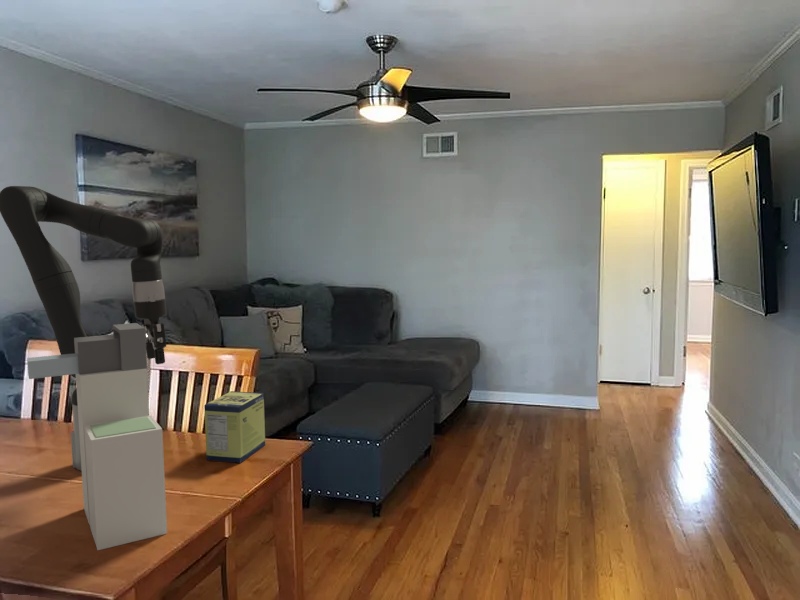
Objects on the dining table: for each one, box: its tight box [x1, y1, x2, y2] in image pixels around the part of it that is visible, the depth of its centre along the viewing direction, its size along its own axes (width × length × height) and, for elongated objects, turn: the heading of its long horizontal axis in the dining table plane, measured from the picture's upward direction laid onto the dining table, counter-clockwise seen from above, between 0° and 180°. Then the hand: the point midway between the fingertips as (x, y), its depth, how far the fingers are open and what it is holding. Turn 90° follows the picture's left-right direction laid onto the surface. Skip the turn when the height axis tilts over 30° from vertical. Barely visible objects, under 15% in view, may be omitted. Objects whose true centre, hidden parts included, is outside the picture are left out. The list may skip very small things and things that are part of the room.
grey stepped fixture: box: [75, 322, 168, 551], centre depth 136 cm, size 13×22×41 cm, turn 32°
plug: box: [26, 334, 122, 380], centre depth 136 cm, size 19×7×7 cm, turn 122°
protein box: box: [203, 390, 266, 464], centre depth 179 cm, size 10×16×16 cm
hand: (156, 360), depth 165 cm, fingers open, 8 cm apart
